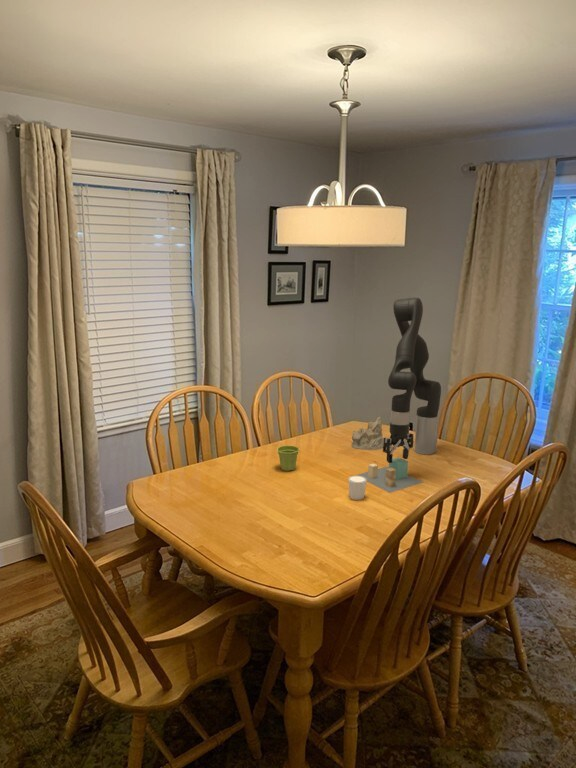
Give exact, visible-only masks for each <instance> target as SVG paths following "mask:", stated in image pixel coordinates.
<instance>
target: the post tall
mask: <svg viewBox="0 0 576 768" xmlns="http://www.w3.org/2000/svg"><path fill="white" fill-rule="evenodd" d="M395 477H396V470H395V469H393V468H388V469H386V482H385V485H387V486H389V487H392V486H395Z"/></svg>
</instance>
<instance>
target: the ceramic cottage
mask: <svg viewBox="0 0 576 768" xmlns="http://www.w3.org/2000/svg"><path fill="white" fill-rule="evenodd" d="M383 435H384V434H383V429H382V419H381V416H378V417H377V419H376V420H375V421H368V424H367V428H365V426H362V427H360V428H359V430H358V431H357V430H353V431H352V436H351V441H352V442H351V447H352V448H353V449H358V450H365V451H370V450H371V451H373V450H374V451H377V450H383V443H384V438H385V437H384V436H383Z"/></svg>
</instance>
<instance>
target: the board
mask: <svg viewBox="0 0 576 768" xmlns="http://www.w3.org/2000/svg"><path fill="white" fill-rule="evenodd" d="M367 466H368V467H367V469H368V470H367V471H366V472H363V473H362V472H361V473H358V474H355V475H354V476H362V477H365V478H366V479H367V481H366V483H369V484H372V485H373V486H375V487H377V488H379V489H381V490H384V491H385V492H387V493H389V494H391V493H394V492H397V491H400V490H405V489H406V488H409V487H412V486H416V485H419V484H422V483H424V481H422V480H419V479H417V478H415V477H414V476H413V477H412V476H410V475H408V474H407V477H405V478H401V479H398V480H397V479H395V486H392V487H389V486H387V485H385V482H386V469H388V468H389V465H387V466H384V467H381V468H379V466H378V465H377V464H376V463H370V464H368V465H367Z"/></svg>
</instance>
